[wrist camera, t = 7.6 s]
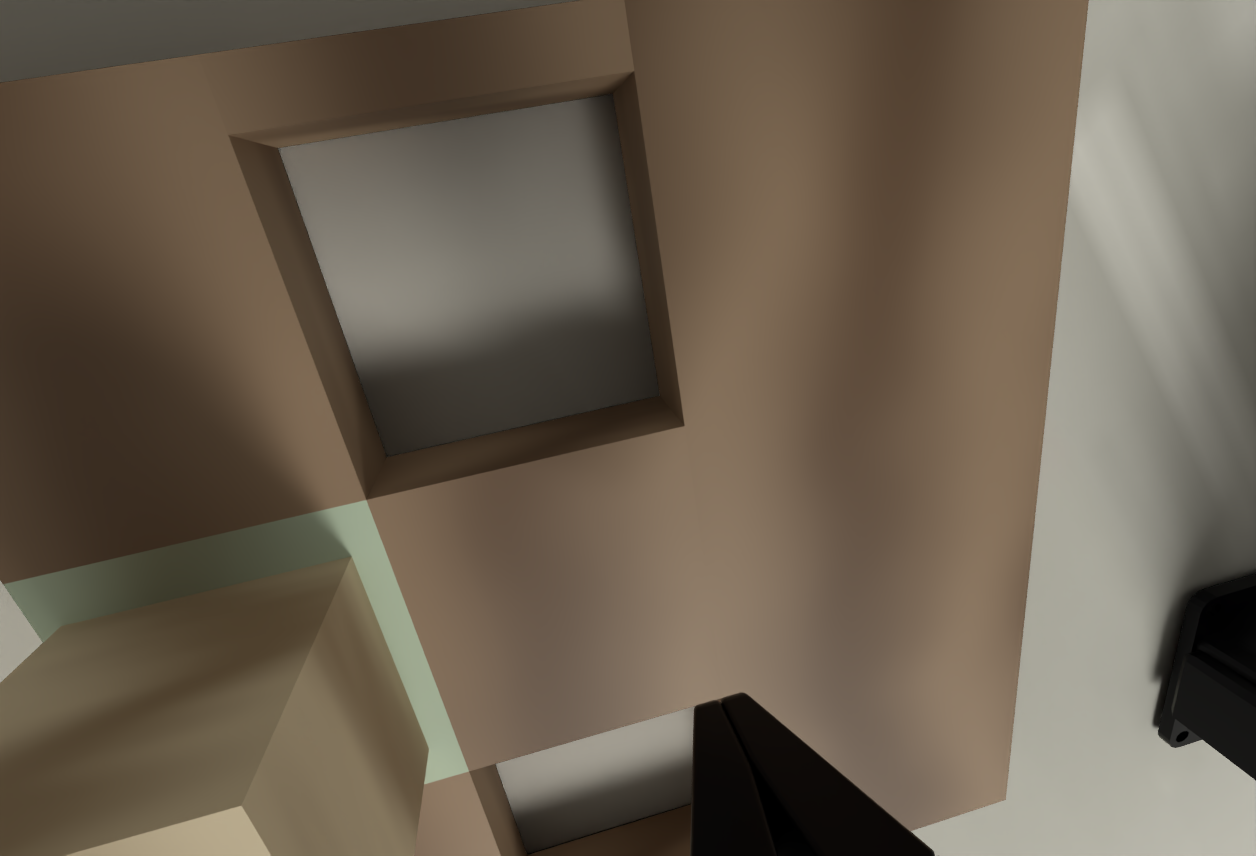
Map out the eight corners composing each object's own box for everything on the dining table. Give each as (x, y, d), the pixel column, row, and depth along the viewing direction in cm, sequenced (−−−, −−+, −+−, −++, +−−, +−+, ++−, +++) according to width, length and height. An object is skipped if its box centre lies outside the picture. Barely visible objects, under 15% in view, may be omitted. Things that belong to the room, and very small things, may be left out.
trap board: (1002, -28, 12) (1095, -74, 10) (958, 743, 19) (1005, 799, 18) (-147, 142, 9) (-310, 126, 7) (328, 942, 17) (307, 1030, 15)
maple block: (351, 556, 11) (241, 805, 6) (429, 748, 13) (386, 1048, 8) (60, 626, 10) (-291, 956, 6) (185, 817, 12) (-6, 1181, 8)
